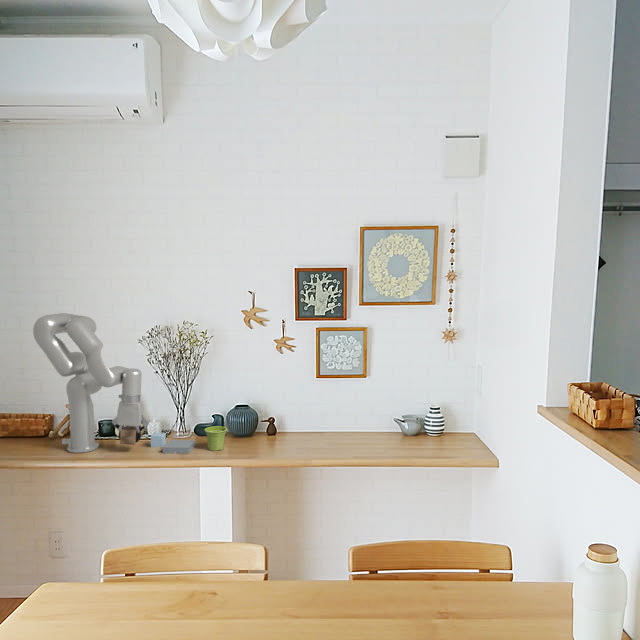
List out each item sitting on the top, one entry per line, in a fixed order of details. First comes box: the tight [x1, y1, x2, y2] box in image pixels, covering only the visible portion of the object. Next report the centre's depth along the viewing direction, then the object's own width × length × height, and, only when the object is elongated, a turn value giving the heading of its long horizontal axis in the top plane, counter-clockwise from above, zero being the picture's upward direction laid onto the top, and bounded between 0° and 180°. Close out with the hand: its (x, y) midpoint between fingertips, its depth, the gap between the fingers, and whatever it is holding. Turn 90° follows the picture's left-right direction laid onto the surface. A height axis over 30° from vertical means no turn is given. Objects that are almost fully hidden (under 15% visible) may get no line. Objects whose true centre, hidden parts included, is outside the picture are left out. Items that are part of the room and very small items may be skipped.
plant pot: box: [204, 425, 228, 452], centre depth 255 cm, size 9×9×9 cm
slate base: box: [162, 439, 196, 454], centre depth 254 cm, size 11×11×2 cm
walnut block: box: [119, 426, 138, 446], centre depth 252 cm, size 6×6×6 cm
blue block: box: [150, 432, 167, 448], centre depth 260 cm, size 5×5×5 cm
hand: (129, 439), depth 252 cm, fingers closed on walnut block, 6 cm apart
